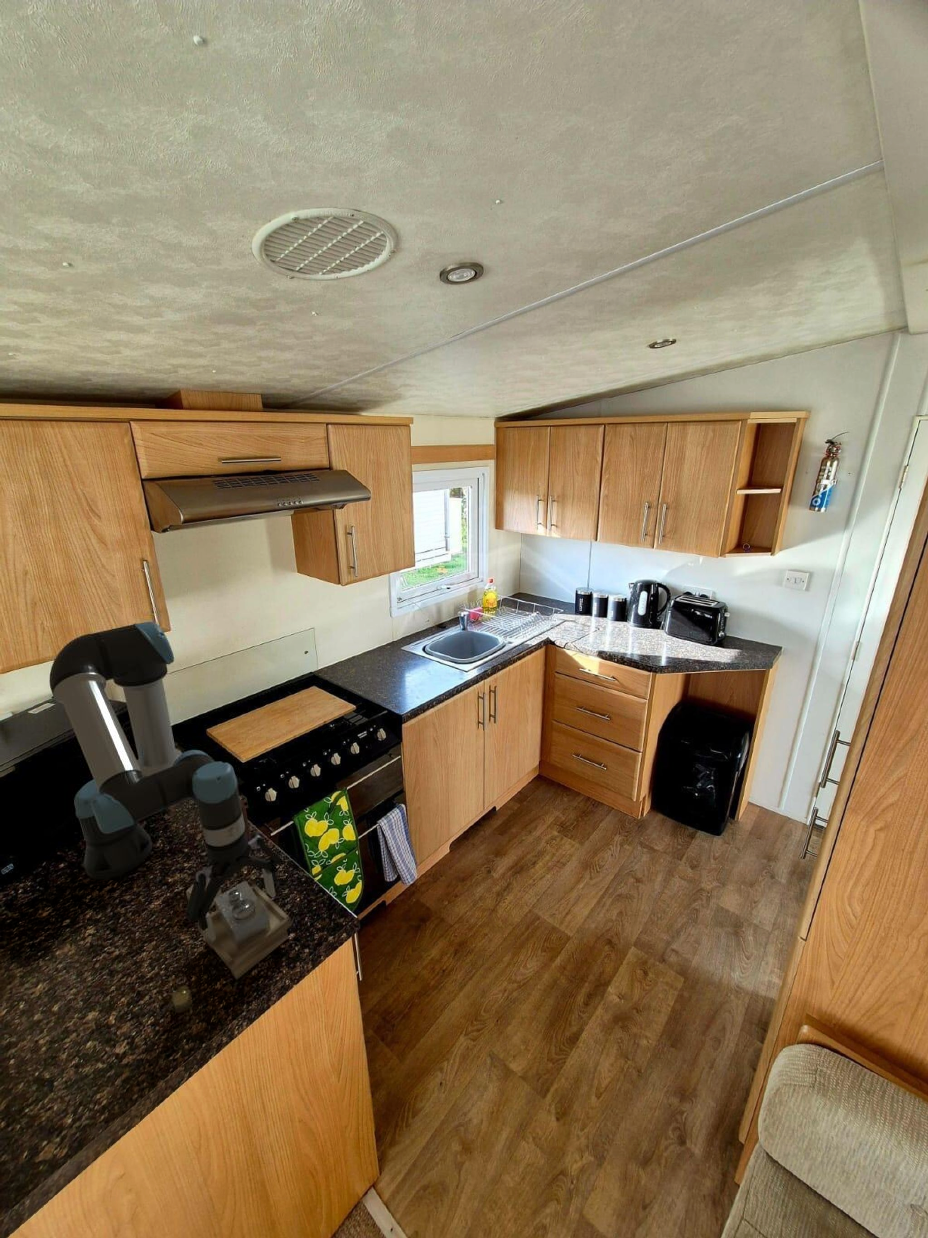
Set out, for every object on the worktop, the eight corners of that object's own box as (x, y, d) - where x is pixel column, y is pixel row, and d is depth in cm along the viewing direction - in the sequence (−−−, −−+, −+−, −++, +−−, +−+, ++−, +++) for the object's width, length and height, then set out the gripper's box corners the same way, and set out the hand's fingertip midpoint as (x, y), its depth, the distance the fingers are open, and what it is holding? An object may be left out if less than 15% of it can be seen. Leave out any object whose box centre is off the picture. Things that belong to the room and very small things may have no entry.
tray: (201, 943, 112) (197, 923, 110) (258, 903, 122) (254, 884, 120) (235, 985, 103) (230, 965, 101) (293, 938, 112) (290, 918, 111)
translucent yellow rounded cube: (172, 1006, 99) (169, 995, 98) (188, 993, 101) (185, 983, 100) (179, 1016, 97) (176, 1005, 96) (195, 1003, 99) (192, 992, 99)
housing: (217, 916, 113) (213, 895, 111) (249, 897, 117) (245, 877, 115) (238, 951, 104) (233, 930, 102) (271, 930, 109) (267, 909, 107)
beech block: (189, 907, 121) (185, 891, 119) (206, 891, 125) (202, 875, 124) (206, 913, 119) (202, 896, 118) (222, 896, 124) (218, 880, 122)
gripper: (168, 883, 92) (191, 968, 98) (290, 810, 110) (302, 886, 116) (152, 863, 96) (174, 946, 103) (271, 796, 114) (284, 870, 121)
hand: (242, 914), depth 110 cm, fingers open, 13 cm apart
